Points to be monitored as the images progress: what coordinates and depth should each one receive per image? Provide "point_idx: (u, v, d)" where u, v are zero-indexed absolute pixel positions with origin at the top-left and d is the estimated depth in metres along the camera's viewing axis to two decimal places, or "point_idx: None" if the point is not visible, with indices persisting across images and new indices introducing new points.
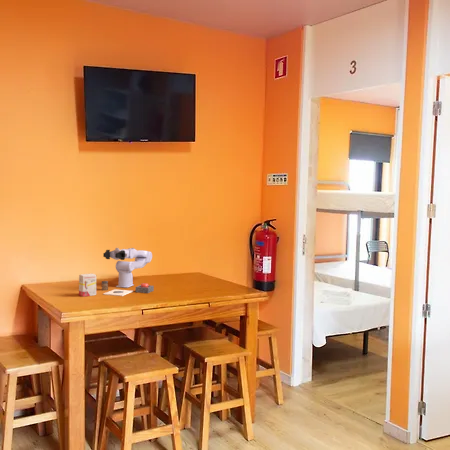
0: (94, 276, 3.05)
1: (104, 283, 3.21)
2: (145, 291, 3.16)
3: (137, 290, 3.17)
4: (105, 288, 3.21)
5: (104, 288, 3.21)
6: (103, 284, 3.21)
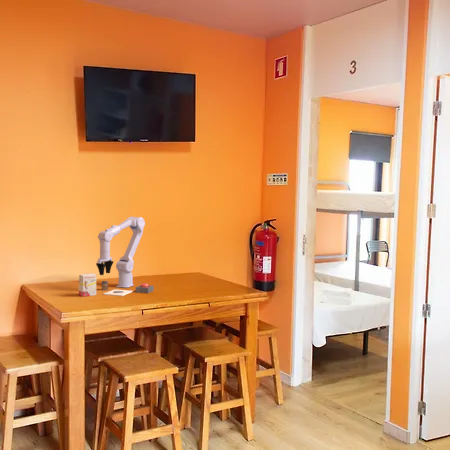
0: (94, 276, 3.05)
1: (104, 283, 3.21)
2: (145, 291, 3.16)
3: (137, 290, 3.17)
4: (105, 288, 3.21)
5: (104, 288, 3.21)
6: (103, 284, 3.21)
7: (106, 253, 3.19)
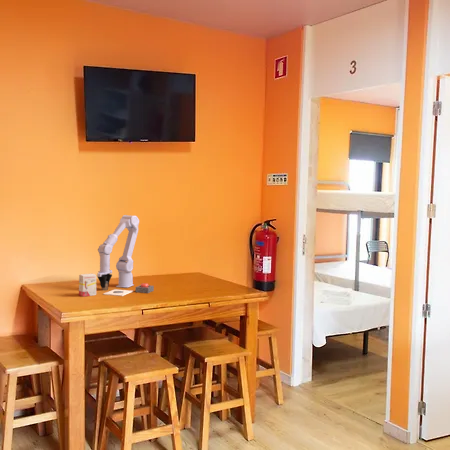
0: (94, 276, 3.05)
1: None
2: (145, 291, 3.16)
3: (137, 290, 3.17)
4: (105, 288, 3.21)
5: (104, 288, 3.21)
6: None
7: (106, 266, 3.20)
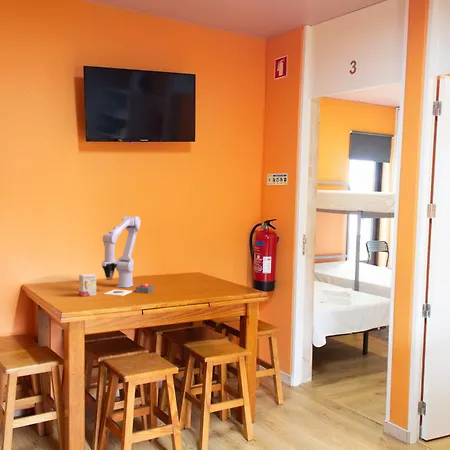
0: (94, 276, 3.05)
1: None
2: (145, 291, 3.16)
3: (137, 290, 3.17)
4: (110, 278, 3.18)
5: (108, 278, 3.17)
6: None
7: (111, 255, 3.16)
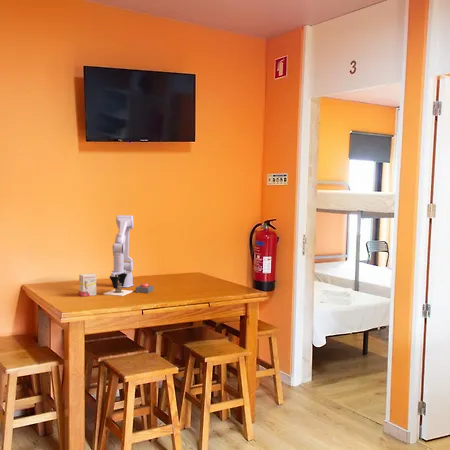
0: (94, 276, 3.05)
1: (118, 285, 3.12)
2: (145, 291, 3.16)
3: (137, 290, 3.17)
4: (119, 290, 3.12)
5: (117, 291, 3.12)
6: None
7: (120, 266, 3.10)
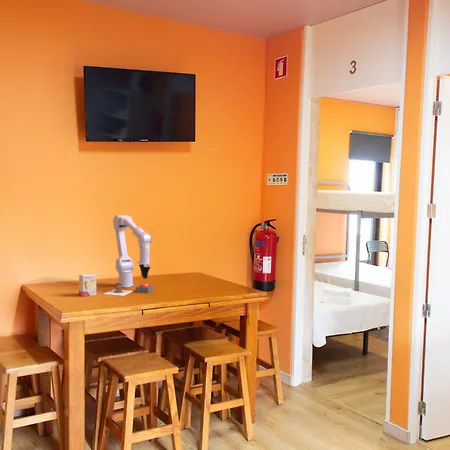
0: (94, 276, 3.05)
1: (118, 285, 3.12)
2: (145, 291, 3.16)
3: (137, 290, 3.17)
4: (119, 290, 3.12)
5: (117, 291, 3.12)
6: (117, 286, 3.12)
7: (148, 256, 3.17)
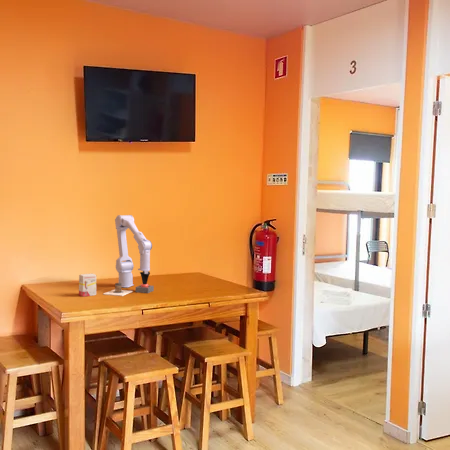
0: (94, 276, 3.05)
1: (118, 285, 3.12)
2: (145, 291, 3.16)
3: (137, 290, 3.17)
4: (119, 290, 3.12)
5: (117, 291, 3.12)
6: (117, 286, 3.12)
7: (148, 263, 3.18)
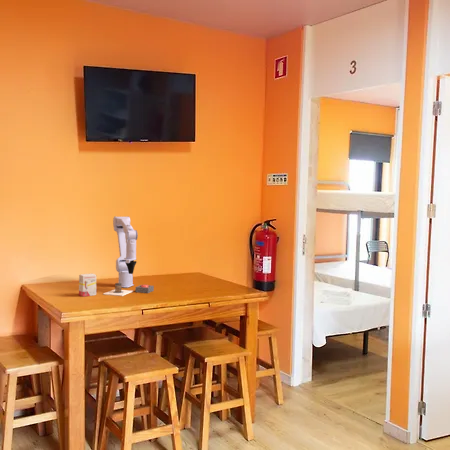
0: (94, 276, 3.05)
1: (118, 285, 3.12)
2: (145, 291, 3.16)
3: (137, 290, 3.17)
4: (119, 290, 3.12)
5: (117, 291, 3.12)
6: (117, 286, 3.12)
7: (133, 252, 3.17)
